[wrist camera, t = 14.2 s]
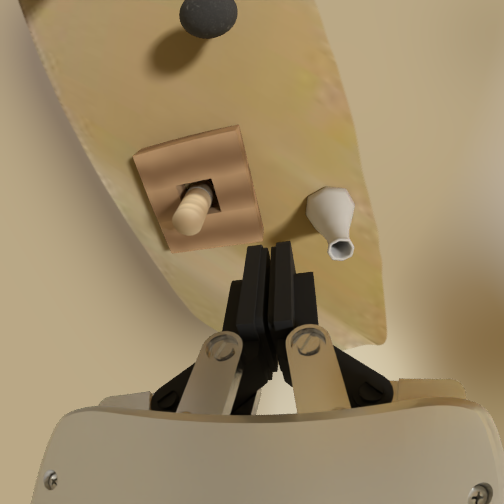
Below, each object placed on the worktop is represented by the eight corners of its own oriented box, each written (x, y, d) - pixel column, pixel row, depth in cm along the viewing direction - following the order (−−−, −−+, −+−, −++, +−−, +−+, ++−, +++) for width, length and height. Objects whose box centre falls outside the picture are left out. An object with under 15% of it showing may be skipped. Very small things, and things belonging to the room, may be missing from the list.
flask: (350, 180, 40) (368, 217, 32) (357, 224, 44) (372, 267, 36) (299, 191, 42) (304, 230, 34) (310, 234, 46) (316, 279, 38)
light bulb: (194, 38, 30) (166, 35, 22) (202, -2, 27) (177, -18, 19) (239, 44, 30) (226, 40, 22) (249, 3, 27) (239, -14, 19)
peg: (187, 179, 42) (167, 211, 35) (212, 174, 41) (196, 206, 34) (195, 202, 44) (177, 237, 37) (219, 198, 43) (206, 233, 36)
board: (141, 149, 39) (132, 156, 37) (238, 124, 37) (235, 130, 34) (176, 242, 48) (171, 253, 46) (263, 229, 46) (262, 241, 43)
